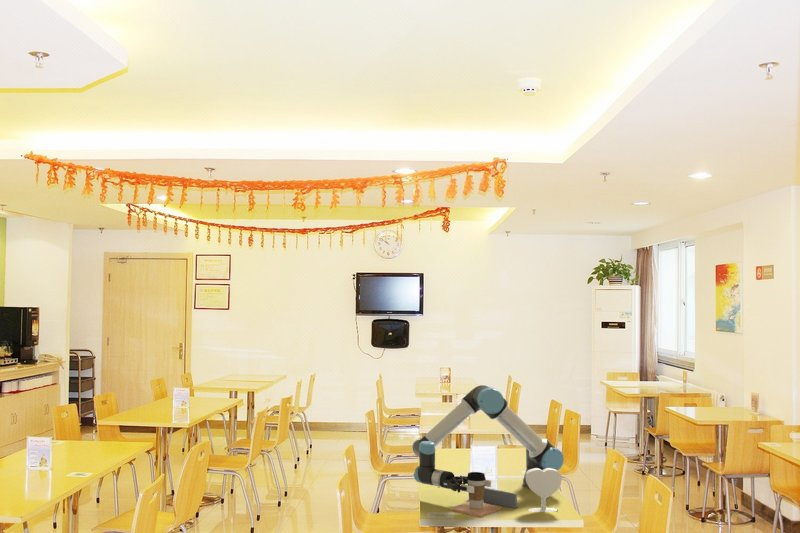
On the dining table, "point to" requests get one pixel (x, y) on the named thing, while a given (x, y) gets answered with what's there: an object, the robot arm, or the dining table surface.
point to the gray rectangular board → (500, 497)
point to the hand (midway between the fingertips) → (482, 486)
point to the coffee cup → (476, 489)
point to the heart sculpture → (543, 485)
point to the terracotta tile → (476, 512)
